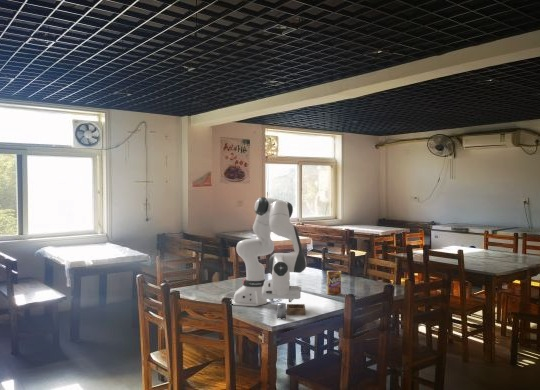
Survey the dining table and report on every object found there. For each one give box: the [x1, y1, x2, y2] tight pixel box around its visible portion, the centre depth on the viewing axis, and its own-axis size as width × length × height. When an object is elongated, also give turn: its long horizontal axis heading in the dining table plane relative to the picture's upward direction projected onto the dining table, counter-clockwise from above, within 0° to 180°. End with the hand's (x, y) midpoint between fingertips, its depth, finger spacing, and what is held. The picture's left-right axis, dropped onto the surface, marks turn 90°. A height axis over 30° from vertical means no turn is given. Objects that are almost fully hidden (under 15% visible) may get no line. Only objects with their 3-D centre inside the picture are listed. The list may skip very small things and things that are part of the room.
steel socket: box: [276, 302, 287, 320], centre depth 251 cm, size 5×5×8 cm
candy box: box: [326, 270, 342, 295], centre depth 308 cm, size 9×4×15 cm, turn 93°
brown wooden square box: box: [286, 303, 306, 316], centre depth 262 cm, size 10×10×4 cm
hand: (281, 301), depth 246 cm, fingers open, 8 cm apart
